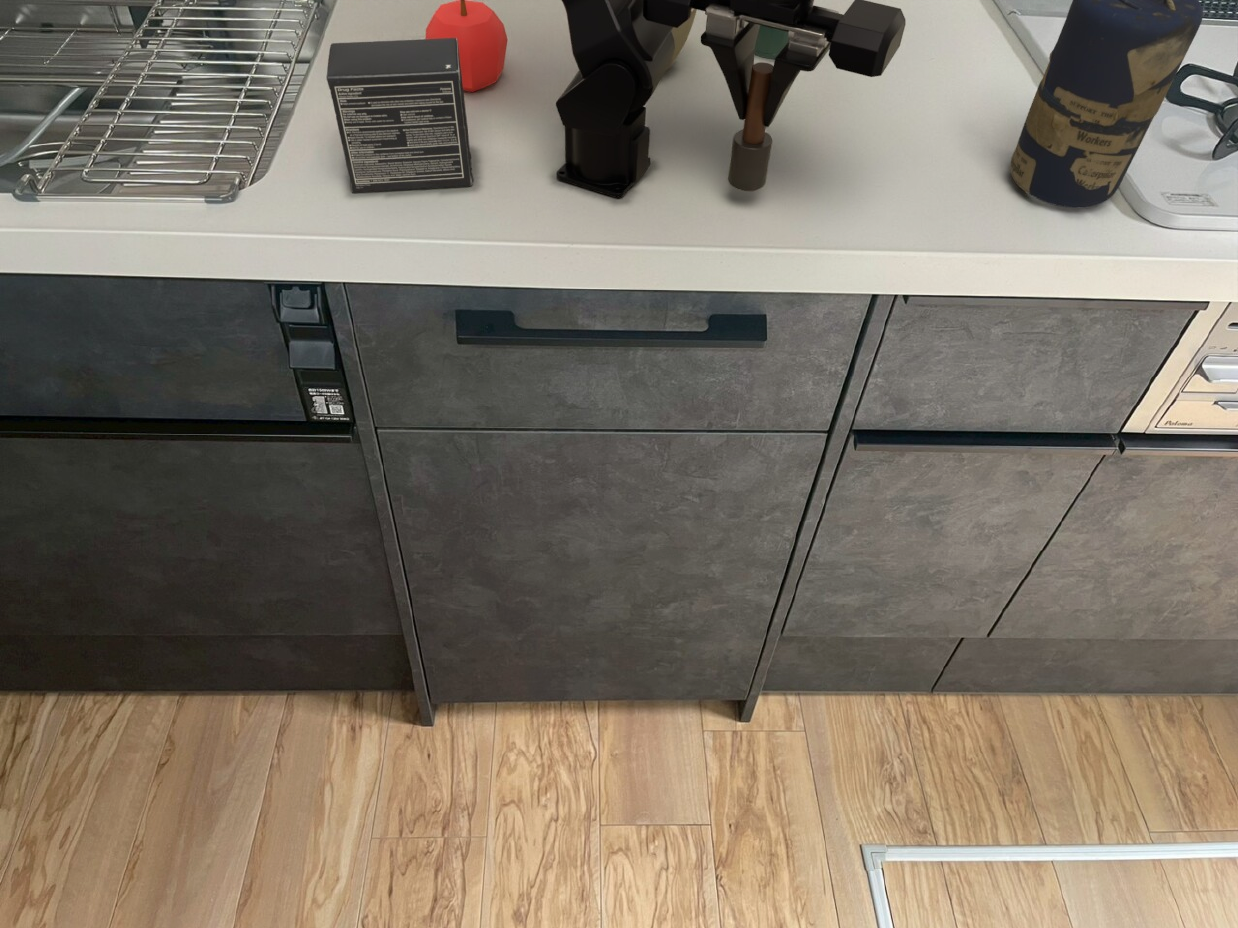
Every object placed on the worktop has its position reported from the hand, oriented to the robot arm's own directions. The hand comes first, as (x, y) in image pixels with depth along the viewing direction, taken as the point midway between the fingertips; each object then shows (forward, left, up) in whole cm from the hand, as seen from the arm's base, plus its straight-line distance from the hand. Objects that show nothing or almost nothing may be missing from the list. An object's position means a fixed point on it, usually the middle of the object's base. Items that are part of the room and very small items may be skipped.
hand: (755, 121), depth 76 cm
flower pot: (-18, +17, -8) cm, 26 cm away
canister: (+24, +16, -8) cm, 30 cm away
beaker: (-8, +28, -8) cm, 30 cm away
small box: (-28, -10, -8) cm, 30 cm away
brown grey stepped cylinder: (0, 0, -6) cm, 6 cm away
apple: (-32, +6, -8) cm, 33 cm away
